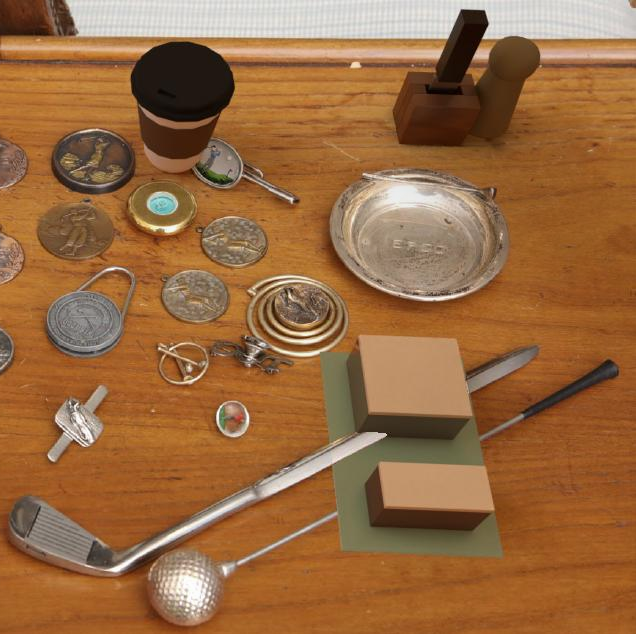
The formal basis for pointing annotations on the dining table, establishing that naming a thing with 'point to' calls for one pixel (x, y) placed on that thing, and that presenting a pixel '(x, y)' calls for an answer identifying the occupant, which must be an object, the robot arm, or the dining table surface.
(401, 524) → the tan rectangular block
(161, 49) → the coffee cup
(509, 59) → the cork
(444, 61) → the knife
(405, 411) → the green board with blocks
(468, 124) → the knife block
